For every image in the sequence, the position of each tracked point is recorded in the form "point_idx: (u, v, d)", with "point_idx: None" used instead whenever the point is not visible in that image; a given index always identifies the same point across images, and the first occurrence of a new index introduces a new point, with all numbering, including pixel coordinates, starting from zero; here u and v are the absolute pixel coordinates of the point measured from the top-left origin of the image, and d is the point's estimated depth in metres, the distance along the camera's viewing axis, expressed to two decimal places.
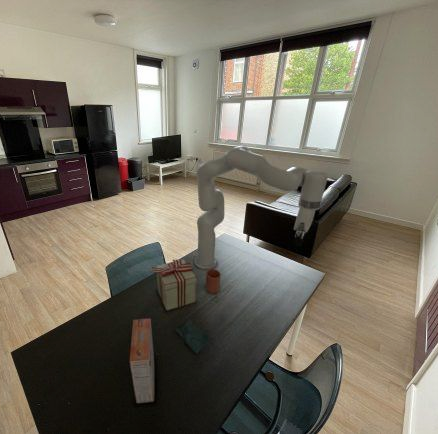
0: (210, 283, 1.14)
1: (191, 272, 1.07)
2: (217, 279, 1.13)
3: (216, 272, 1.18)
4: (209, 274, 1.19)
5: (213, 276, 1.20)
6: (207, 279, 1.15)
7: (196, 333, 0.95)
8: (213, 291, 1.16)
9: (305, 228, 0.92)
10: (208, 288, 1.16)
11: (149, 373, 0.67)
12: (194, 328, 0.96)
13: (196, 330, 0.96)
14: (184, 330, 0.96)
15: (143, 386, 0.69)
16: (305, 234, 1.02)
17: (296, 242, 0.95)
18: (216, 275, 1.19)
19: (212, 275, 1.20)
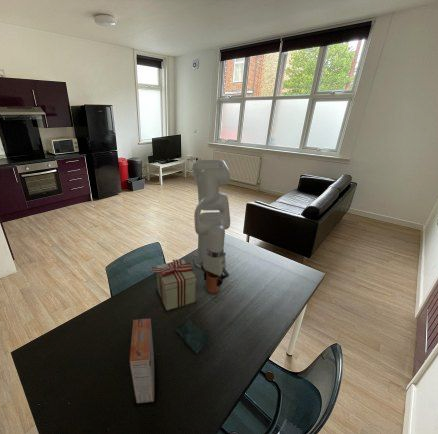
0: (210, 283, 1.14)
1: (191, 272, 1.07)
2: (217, 279, 1.13)
3: None
4: (209, 274, 1.19)
5: (213, 276, 1.20)
6: (207, 279, 1.15)
7: (196, 333, 0.95)
8: (213, 291, 1.16)
9: None
10: (208, 288, 1.16)
11: (149, 373, 0.67)
12: (194, 328, 0.96)
13: (196, 330, 0.96)
14: (184, 330, 0.96)
15: (143, 386, 0.69)
16: None
17: None
18: (216, 275, 1.19)
19: (212, 275, 1.20)
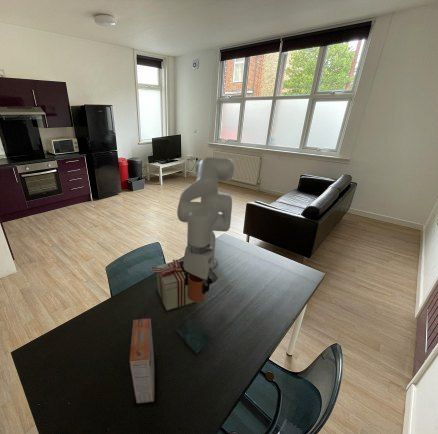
0: (193, 289, 0.84)
1: None
2: (202, 284, 0.83)
3: None
4: (192, 277, 0.89)
5: (198, 280, 0.90)
6: (189, 284, 0.85)
7: (196, 333, 0.95)
8: (197, 300, 0.86)
9: None
10: (190, 296, 0.86)
11: (149, 373, 0.67)
12: (194, 328, 0.96)
13: (196, 330, 0.96)
14: (184, 330, 0.96)
15: (143, 386, 0.69)
16: None
17: None
18: None
19: (196, 278, 0.90)
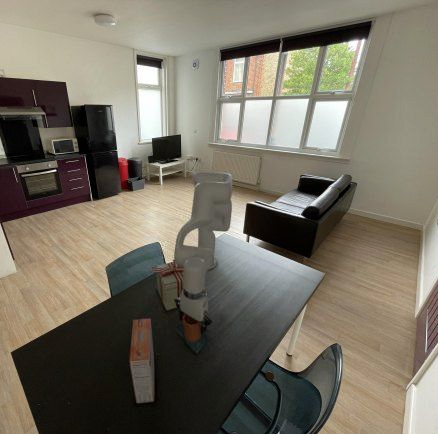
0: (188, 331, 0.88)
1: None
2: (196, 326, 0.87)
3: None
4: (188, 316, 0.93)
5: (193, 318, 0.94)
6: (184, 325, 0.89)
7: None
8: (193, 340, 0.90)
9: None
10: (186, 336, 0.90)
11: (149, 373, 0.67)
12: None
13: None
14: None
15: (143, 386, 0.69)
16: None
17: None
18: None
19: None
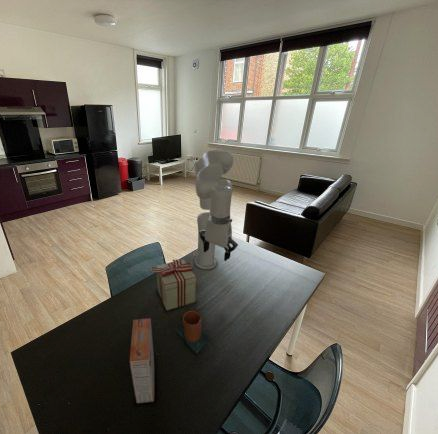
0: (188, 331, 0.88)
1: (191, 272, 1.07)
2: (196, 326, 0.87)
3: (196, 314, 0.92)
4: (188, 316, 0.93)
5: (193, 318, 0.94)
6: (184, 325, 0.89)
7: None
8: (193, 340, 0.90)
9: None
10: (186, 336, 0.90)
11: (149, 373, 0.67)
12: None
13: None
14: None
15: (143, 386, 0.69)
16: None
17: None
18: (197, 318, 0.92)
19: (192, 317, 0.93)
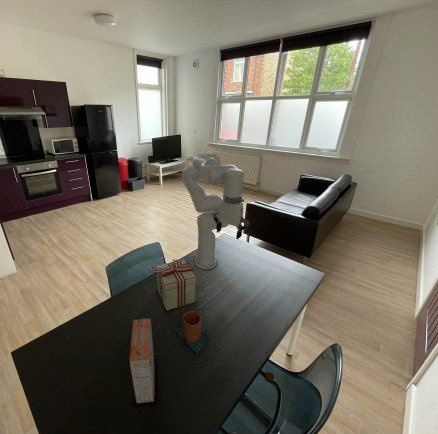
0: (188, 331, 0.88)
1: (191, 272, 1.07)
2: (196, 326, 0.87)
3: (196, 314, 0.92)
4: (188, 317, 0.93)
5: (193, 318, 0.94)
6: (184, 325, 0.89)
7: None
8: (193, 340, 0.90)
9: None
10: (186, 336, 0.90)
11: (149, 373, 0.67)
12: None
13: None
14: None
15: (143, 386, 0.69)
16: None
17: None
18: (197, 318, 0.92)
19: (192, 317, 0.93)
